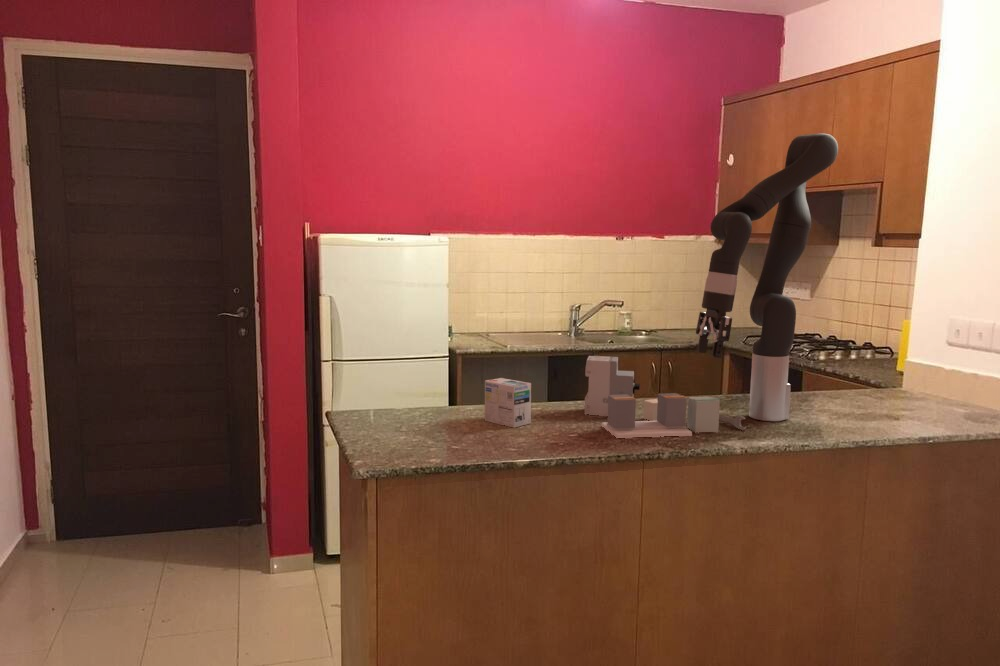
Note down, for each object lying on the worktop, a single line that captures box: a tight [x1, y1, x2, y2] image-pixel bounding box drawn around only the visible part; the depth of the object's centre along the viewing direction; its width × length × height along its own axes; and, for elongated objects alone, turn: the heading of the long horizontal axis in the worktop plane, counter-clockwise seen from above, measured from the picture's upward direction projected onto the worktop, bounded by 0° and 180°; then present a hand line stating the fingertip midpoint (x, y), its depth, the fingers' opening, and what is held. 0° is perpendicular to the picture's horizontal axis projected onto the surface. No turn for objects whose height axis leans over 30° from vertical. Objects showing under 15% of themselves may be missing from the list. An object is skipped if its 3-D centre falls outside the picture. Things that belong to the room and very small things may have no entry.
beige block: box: [643, 398, 658, 421], centre depth 201 cm, size 4×4×5 cm
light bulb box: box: [484, 377, 532, 428], centre depth 196 cm, size 11×7×11 cm, turn 47°
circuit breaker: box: [584, 355, 641, 417], centre depth 207 cm, size 8×14×15 cm, turn 78°
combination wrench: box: [719, 413, 747, 431], centre depth 199 cm, size 4×1×20 cm
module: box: [686, 396, 721, 434], centre depth 190 cm, size 6×5×8 cm
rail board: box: [601, 392, 693, 439], centre depth 189 cm, size 19×12×9 cm, turn 100°
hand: (708, 354), depth 194 cm, fingers open, 8 cm apart
